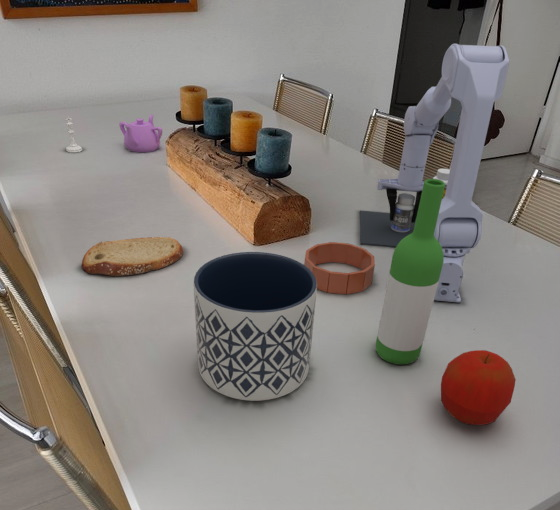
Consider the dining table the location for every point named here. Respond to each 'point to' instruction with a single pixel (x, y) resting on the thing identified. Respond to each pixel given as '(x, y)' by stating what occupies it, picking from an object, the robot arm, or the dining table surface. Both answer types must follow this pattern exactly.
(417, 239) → the wine bottle
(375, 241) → the mat
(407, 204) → the pill bottle
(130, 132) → the teapot
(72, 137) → the chess piece
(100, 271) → the slice of bread
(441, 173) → the supplement bottle
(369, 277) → the bracelet
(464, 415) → the apple
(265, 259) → the planter
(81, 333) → the dining table surface
